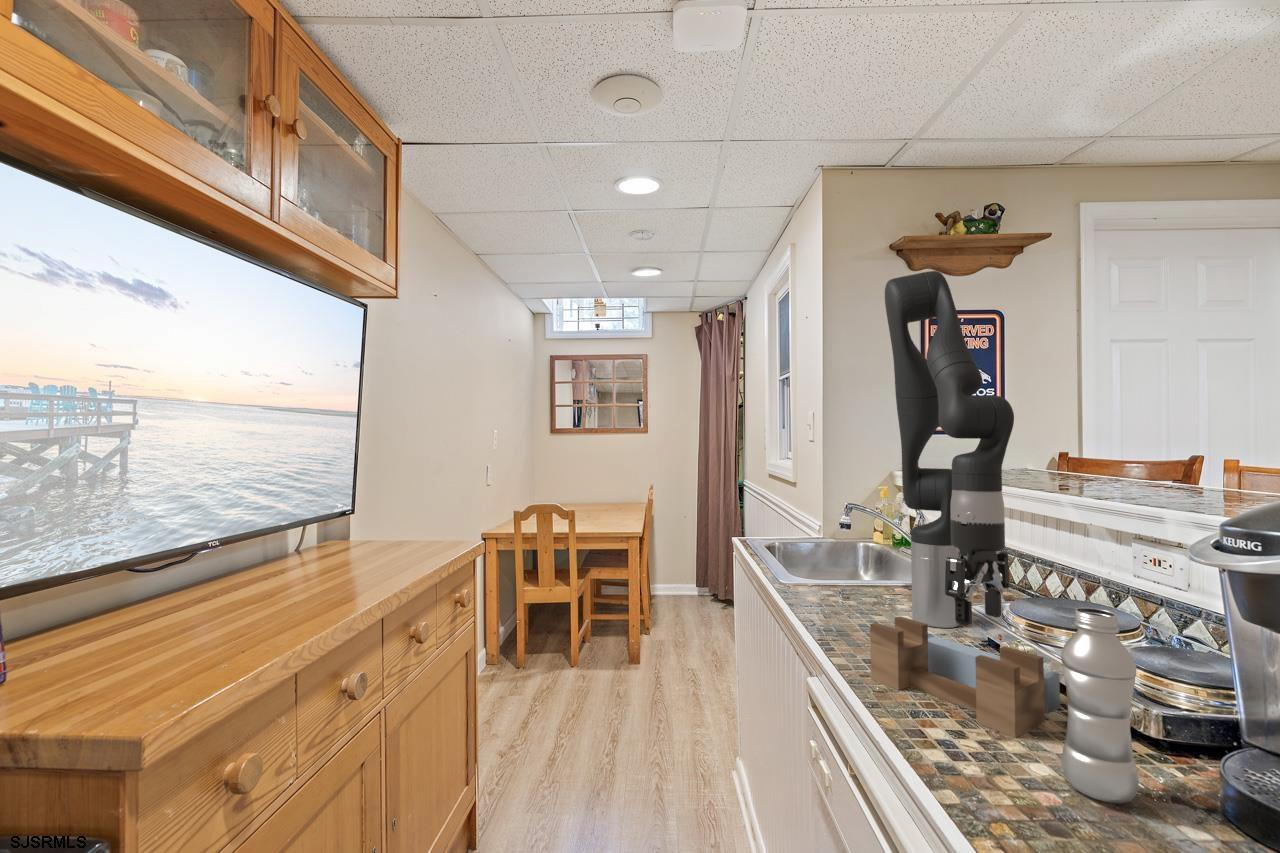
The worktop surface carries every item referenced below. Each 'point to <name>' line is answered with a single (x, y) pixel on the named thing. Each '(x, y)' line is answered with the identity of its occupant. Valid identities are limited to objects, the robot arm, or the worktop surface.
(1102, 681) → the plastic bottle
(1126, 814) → the worktop surface
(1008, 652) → the wooden notched stand
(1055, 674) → the rail
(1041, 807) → the worktop surface
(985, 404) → the robot arm
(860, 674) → the worktop surface
